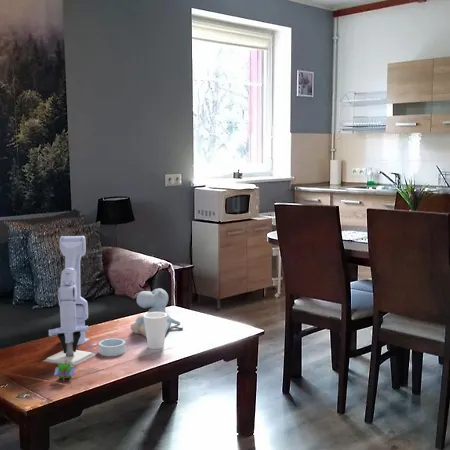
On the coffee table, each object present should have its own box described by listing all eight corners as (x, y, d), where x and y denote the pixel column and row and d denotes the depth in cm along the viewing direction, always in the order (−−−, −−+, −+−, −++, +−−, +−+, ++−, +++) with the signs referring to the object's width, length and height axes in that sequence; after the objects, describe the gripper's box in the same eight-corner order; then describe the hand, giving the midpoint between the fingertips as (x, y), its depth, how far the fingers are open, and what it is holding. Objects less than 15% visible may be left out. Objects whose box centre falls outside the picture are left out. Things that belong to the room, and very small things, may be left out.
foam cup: (163, 351, 238) (162, 318, 236) (141, 349, 240) (140, 317, 238) (170, 343, 247) (169, 312, 245) (148, 341, 249) (148, 311, 247)
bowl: (94, 354, 234) (93, 344, 233) (109, 346, 243) (108, 337, 242) (115, 358, 230) (115, 348, 229) (130, 350, 239) (130, 340, 238)
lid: (46, 360, 227) (46, 345, 226) (67, 350, 238) (66, 336, 237) (72, 364, 222) (72, 349, 221) (92, 354, 233) (91, 340, 232)
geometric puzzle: (72, 379, 203) (73, 356, 207) (51, 380, 203) (53, 357, 207) (75, 385, 210) (77, 362, 214) (55, 386, 209) (57, 363, 213)
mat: (42, 361, 226) (42, 360, 226) (66, 350, 239) (66, 349, 239) (73, 367, 221) (73, 366, 221) (96, 355, 233) (96, 354, 233)
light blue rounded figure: (129, 327, 269) (128, 286, 267) (180, 323, 274) (179, 284, 272) (132, 340, 252) (131, 296, 249) (186, 336, 257) (185, 293, 254)
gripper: (49, 322, 221) (50, 357, 223) (89, 317, 227) (90, 352, 228) (47, 316, 228) (49, 351, 230) (86, 312, 233) (87, 347, 235)
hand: (69, 351), depth 230 cm, fingers closed on lid, 3 cm apart
